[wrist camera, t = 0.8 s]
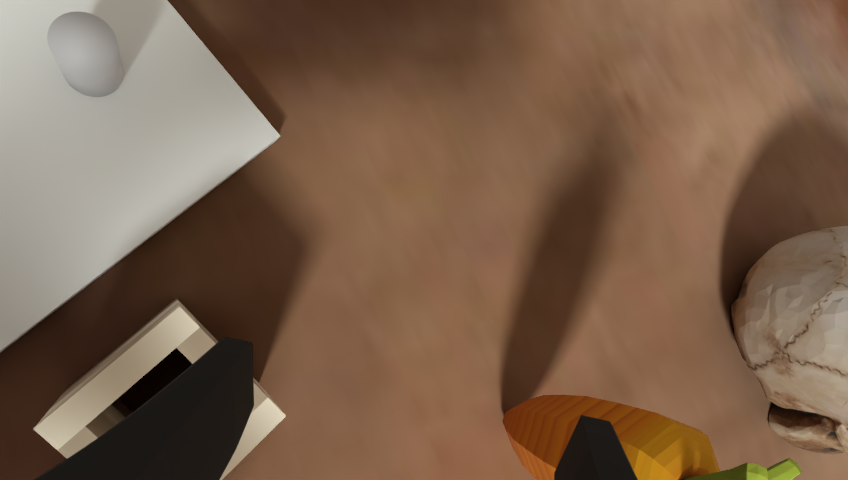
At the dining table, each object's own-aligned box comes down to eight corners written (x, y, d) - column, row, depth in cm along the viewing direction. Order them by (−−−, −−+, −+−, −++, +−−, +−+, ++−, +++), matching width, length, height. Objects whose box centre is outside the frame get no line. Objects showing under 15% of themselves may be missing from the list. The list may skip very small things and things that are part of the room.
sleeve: (161, 475, 23) (160, 540, 17) (67, 388, 21) (32, 429, 16) (259, 383, 24) (286, 415, 19) (176, 297, 23) (179, 306, 18)
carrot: (464, 373, 28) (739, 469, 15) (545, 365, 30) (852, 442, 17) (466, 474, 28) (747, 664, 15) (547, 458, 30) (860, 613, 17)
